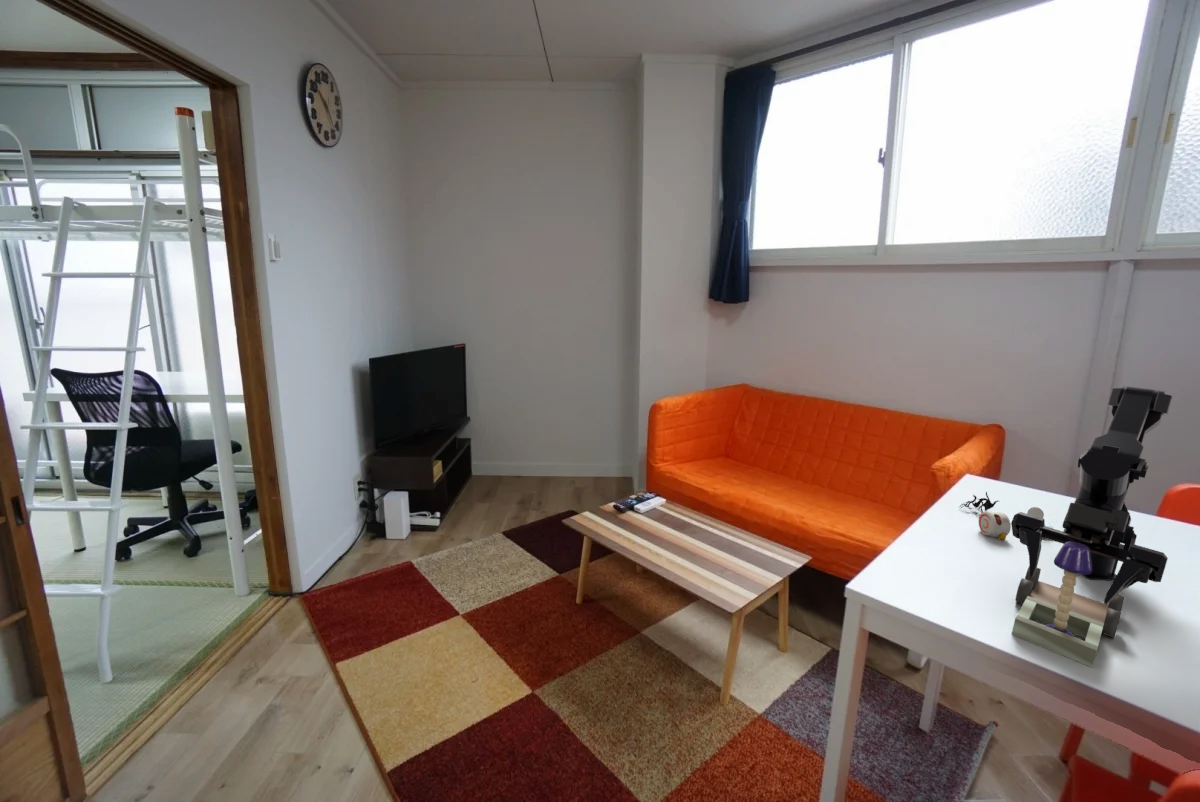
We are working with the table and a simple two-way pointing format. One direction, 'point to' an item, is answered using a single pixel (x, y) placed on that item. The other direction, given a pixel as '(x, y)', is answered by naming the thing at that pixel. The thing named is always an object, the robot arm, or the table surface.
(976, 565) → the table surface
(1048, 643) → the chassis
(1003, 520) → the roller toy
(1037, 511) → the pacifier
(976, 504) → the creature
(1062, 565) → the toy lamp
